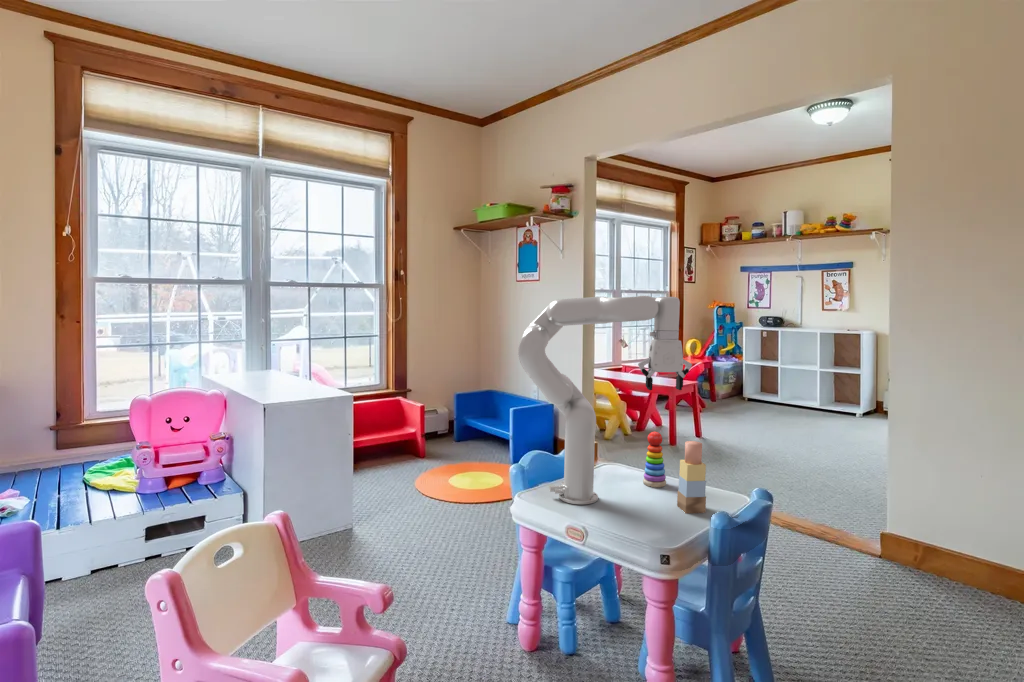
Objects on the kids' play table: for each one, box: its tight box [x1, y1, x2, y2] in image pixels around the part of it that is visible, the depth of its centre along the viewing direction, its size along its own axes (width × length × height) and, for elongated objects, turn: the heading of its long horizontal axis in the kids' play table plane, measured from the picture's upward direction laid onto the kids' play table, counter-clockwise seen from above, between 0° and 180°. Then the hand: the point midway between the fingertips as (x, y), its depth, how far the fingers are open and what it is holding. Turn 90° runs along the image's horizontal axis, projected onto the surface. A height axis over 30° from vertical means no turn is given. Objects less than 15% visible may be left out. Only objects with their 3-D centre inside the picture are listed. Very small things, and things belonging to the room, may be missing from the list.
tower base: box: [676, 490, 707, 514], centre depth 182 cm, size 6×6×5 cm
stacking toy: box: [642, 431, 667, 488], centre depth 205 cm, size 8×8×19 cm
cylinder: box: [684, 440, 703, 465], centre depth 181 cm, size 5×5×6 cm
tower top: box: [678, 459, 707, 481], centre depth 182 cm, size 6×6×5 cm
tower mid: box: [678, 475, 707, 497], centre depth 182 cm, size 6×6×5 cm
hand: (664, 389), depth 187 cm, fingers open, 9 cm apart
